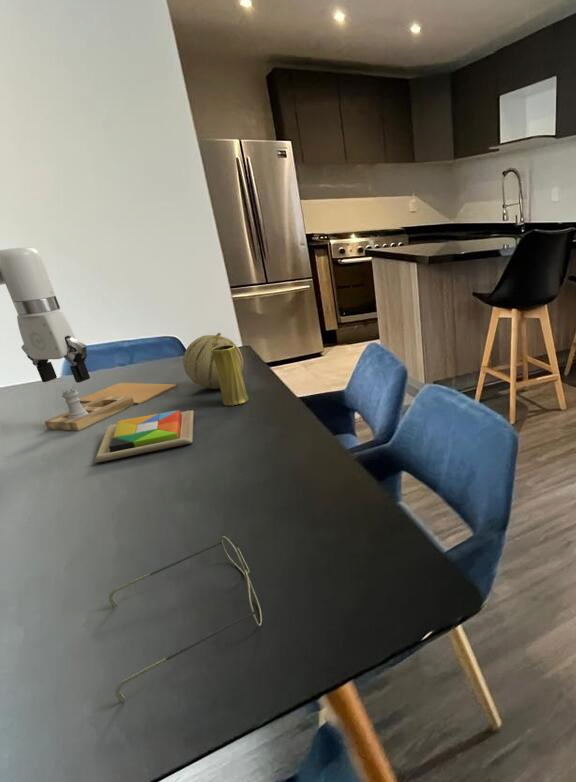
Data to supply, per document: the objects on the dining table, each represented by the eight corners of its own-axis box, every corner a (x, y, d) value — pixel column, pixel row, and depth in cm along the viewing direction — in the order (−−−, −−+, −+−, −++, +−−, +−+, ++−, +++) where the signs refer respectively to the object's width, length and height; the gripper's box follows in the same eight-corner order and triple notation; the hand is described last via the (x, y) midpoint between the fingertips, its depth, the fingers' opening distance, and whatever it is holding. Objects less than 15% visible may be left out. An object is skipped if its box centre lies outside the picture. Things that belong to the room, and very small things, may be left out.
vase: (218, 403, 124) (204, 349, 119) (239, 396, 129) (227, 343, 123) (232, 408, 121) (218, 352, 116) (253, 399, 126) (241, 345, 120)
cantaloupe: (184, 388, 137) (169, 336, 132) (236, 375, 146) (224, 325, 141) (201, 401, 127) (186, 344, 121) (256, 385, 136) (245, 332, 130)
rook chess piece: (71, 427, 115) (59, 395, 112) (67, 422, 118) (55, 391, 115) (93, 420, 118) (82, 389, 115) (89, 416, 121) (77, 386, 118)
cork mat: (77, 402, 132) (76, 400, 132) (120, 384, 144) (119, 382, 144) (139, 404, 127) (138, 402, 127) (177, 386, 140) (177, 384, 140)
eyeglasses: (272, 628, 56) (263, 594, 54) (119, 704, 48) (102, 667, 46) (237, 556, 68) (229, 526, 66) (111, 607, 60) (97, 575, 58)
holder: (47, 429, 115) (44, 421, 114) (106, 403, 130) (103, 396, 129) (78, 430, 113) (75, 422, 112) (134, 404, 128) (132, 397, 127)
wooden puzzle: (94, 467, 95) (87, 451, 94) (111, 431, 112) (106, 417, 110) (192, 446, 102) (188, 431, 100) (195, 415, 118) (191, 402, 116)
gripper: (-11, 311, 106) (21, 385, 113) (52, 309, 102) (82, 386, 109) (24, 304, 113) (52, 374, 120) (84, 302, 109) (110, 375, 116)
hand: (66, 380), depth 114 cm, fingers open, 9 cm apart
